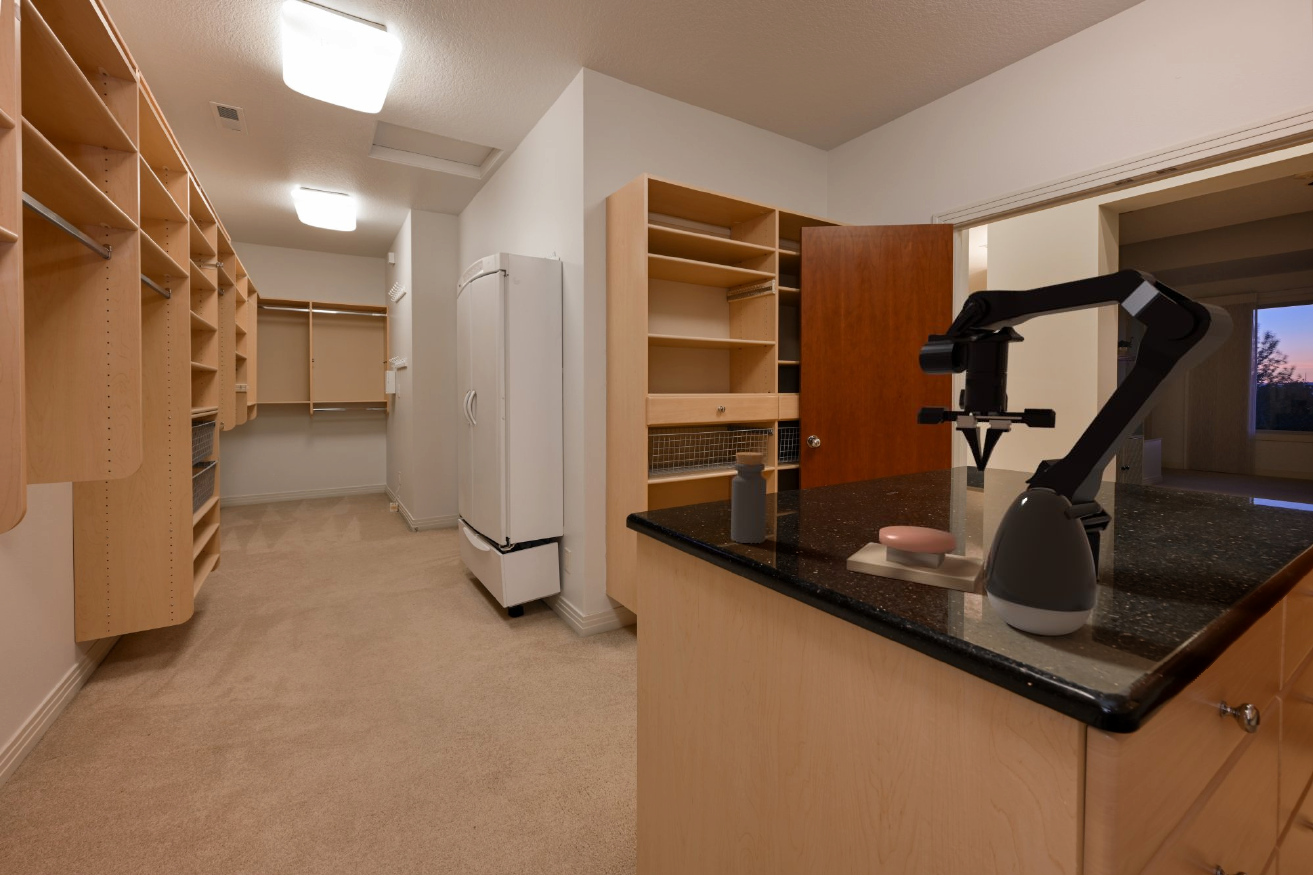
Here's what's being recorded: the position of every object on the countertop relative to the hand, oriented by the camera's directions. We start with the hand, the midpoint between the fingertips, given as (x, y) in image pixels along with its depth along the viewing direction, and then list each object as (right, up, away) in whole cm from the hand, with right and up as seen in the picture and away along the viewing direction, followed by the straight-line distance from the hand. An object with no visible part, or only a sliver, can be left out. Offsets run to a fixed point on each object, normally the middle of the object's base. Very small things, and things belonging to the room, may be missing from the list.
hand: (981, 470), depth 92 cm
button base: (-15, -14, -9) cm, 22 cm away
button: (-15, -12, -10) cm, 21 cm away
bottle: (-36, -13, +7) cm, 39 cm away
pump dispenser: (-11, -15, -29) cm, 35 cm away
